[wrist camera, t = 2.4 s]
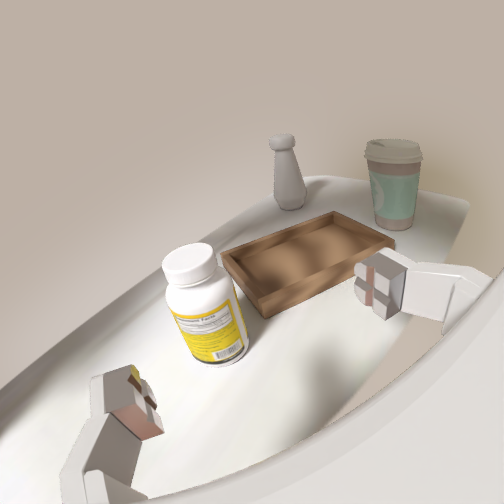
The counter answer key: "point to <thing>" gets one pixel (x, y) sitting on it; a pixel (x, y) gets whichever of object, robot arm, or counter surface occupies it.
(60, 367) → the counter surface
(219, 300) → the supplement bottle
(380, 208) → the coffee cup
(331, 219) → the tray
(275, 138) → the salt shaker
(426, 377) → the robot arm
